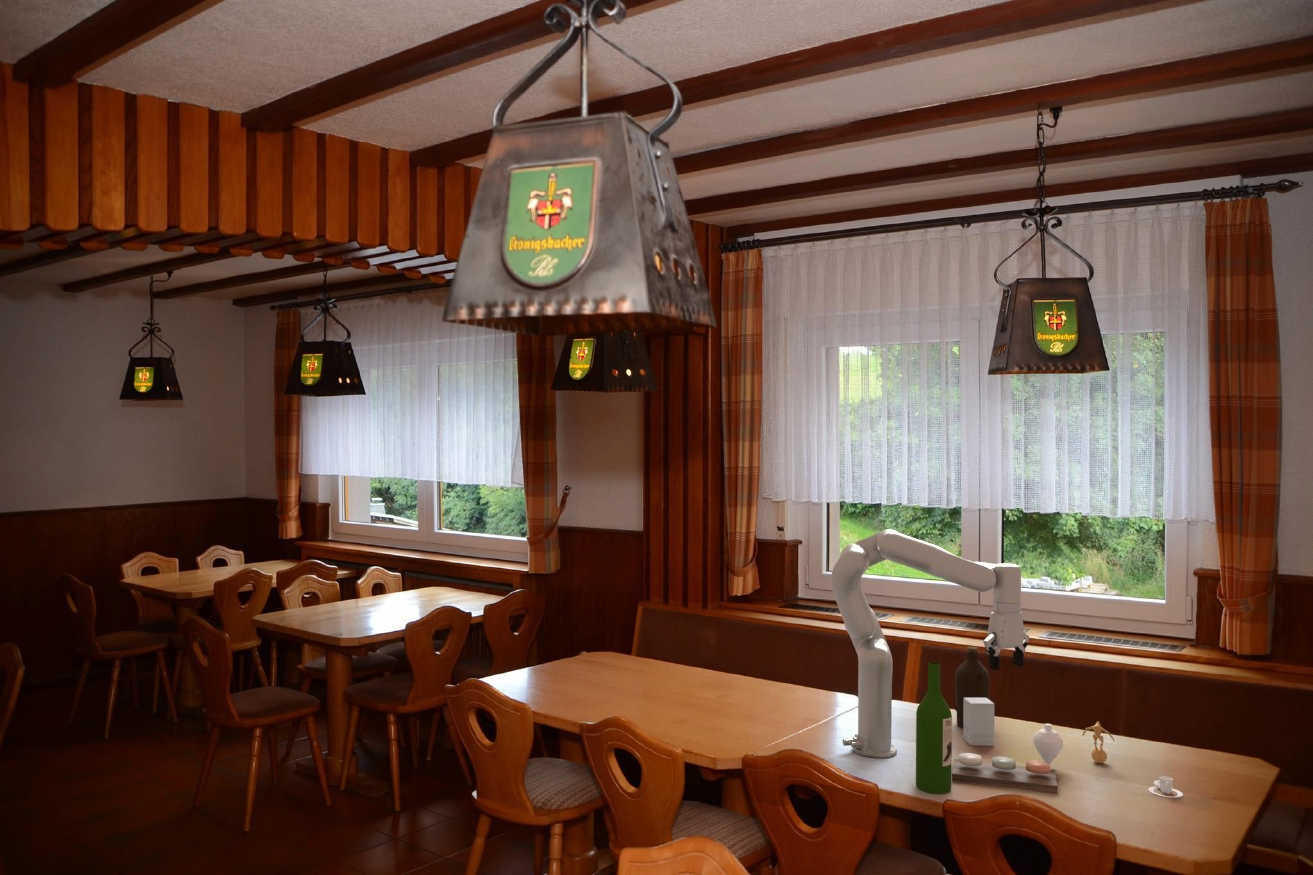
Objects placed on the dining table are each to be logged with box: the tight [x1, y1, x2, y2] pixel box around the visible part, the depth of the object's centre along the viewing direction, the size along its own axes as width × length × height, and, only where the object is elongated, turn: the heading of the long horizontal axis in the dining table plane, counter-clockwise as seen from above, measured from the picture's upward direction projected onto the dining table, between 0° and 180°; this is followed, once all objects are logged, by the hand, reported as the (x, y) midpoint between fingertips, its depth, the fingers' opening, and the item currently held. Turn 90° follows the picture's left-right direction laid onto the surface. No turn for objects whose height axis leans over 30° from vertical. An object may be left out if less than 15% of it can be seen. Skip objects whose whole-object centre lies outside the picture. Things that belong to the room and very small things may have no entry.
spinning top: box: [1032, 723, 1064, 765], centre depth 268 cm, size 8×8×12 cm
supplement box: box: [962, 698, 995, 747], centre depth 290 cm, size 7×7×13 cm
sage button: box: [991, 756, 1017, 770], centre depth 258 cm, size 6×6×2 cm
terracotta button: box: [1025, 760, 1051, 774], centre depth 255 cm, size 6×6×2 cm
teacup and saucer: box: [1148, 775, 1184, 799], centre depth 250 cm, size 9×8×4 cm
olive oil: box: [954, 646, 991, 729], centre depth 307 cm, size 11×11×25 cm
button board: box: [951, 758, 1058, 795], centre depth 258 cm, size 13×26×2 cm, turn 70°
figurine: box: [1082, 721, 1115, 764], centre depth 271 cm, size 8×6×12 cm
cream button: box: [958, 752, 983, 766], centre depth 261 cm, size 6×6×2 cm
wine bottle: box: [915, 661, 953, 795], centre depth 251 cm, size 9×9×32 cm
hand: (1006, 667), depth 274 cm, fingers open, 9 cm apart
